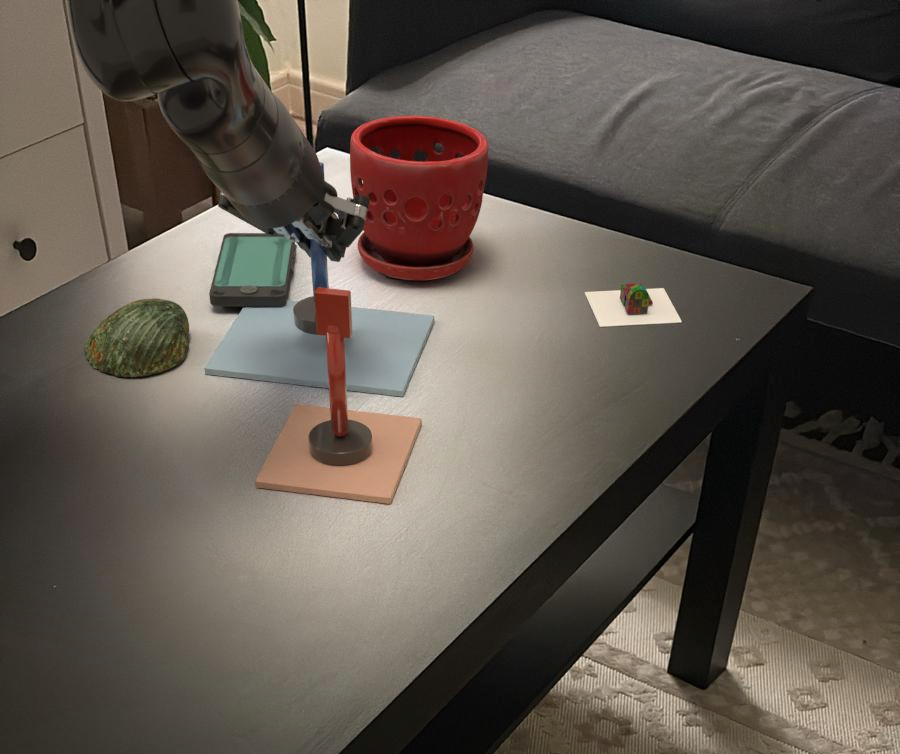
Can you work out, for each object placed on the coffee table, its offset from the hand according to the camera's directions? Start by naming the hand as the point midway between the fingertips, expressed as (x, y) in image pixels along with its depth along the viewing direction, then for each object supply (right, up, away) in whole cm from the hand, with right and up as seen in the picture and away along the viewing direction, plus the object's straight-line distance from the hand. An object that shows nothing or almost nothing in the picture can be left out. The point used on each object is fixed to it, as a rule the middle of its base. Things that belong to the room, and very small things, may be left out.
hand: (327, 248), depth 113 cm
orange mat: (+2, -20, -7) cm, 21 cm away
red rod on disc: (+2, -20, -8) cm, 21 cm away
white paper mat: (+28, -1, +11) cm, 30 cm away
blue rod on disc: (-1, -5, +3) cm, 6 cm away
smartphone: (-8, +3, +14) cm, 16 cm away
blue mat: (-1, -7, +5) cm, 8 cm away
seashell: (-17, -8, +4) cm, 19 cm away
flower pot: (+8, +6, +17) cm, 19 cm away
